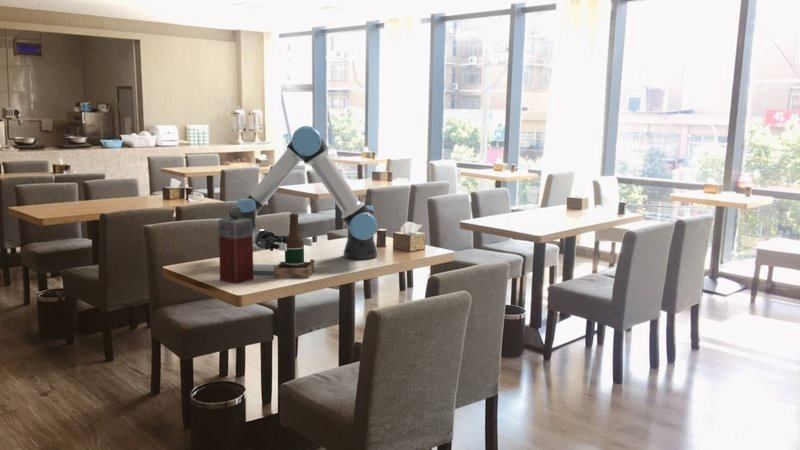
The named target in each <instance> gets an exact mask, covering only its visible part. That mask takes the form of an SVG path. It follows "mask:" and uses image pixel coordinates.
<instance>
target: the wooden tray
mask: <svg viewBox="0 0 800 450" xmlns="http://www.w3.org/2000/svg"><path fill="white" fill-rule="evenodd" d="M273 265H274V278H282V279H283V278H288V279H289V278H290V279H291V278H293V279H296V278H297V279H304V278H305V279H309V278H311V276H312V275H313V273H314V272H315V259H310V260H309V261H304V268H285V261H280V262H279V263H278V264H273Z"/></svg>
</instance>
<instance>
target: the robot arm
mask: <svg viewBox="0 0 800 450" xmlns="http://www.w3.org/2000/svg"><path fill="white" fill-rule="evenodd" d="M301 162H303V163H304V164H306V165H309V166H311V168H312V169H313V171H314V173H315V174H316V175H317V177H318V178H319V179H320V181H321V182H322V185H324V186H323V187H325V189H326V190H327V192H328V193H329V195H330V196H331V197H332V199H333V200H334V203H335V204H336V206H337V207H338V208H339V210H340V211H341V219H342V221H343V223H344V224H345V225H346V227H347V240H346V244H345V246H344V249H343V258H346V259H350V260H371V259H375V258H377V257H378V250H377V246H376V243H375V241H374V240H375V239H374V236H375V234H376V232H377V230H378V221H377V219H376V217H375V215H374V213H375V210H374V207H373V205H367V204H366V203H365V202H363V201H360V200H359V199H358V197H357V195H355V193H354V192H353V190H352V188H351V187H350V185H349V184H348V182H347V181H346V179H345V177H344V176H343V175H342V173H341V171H340V170H339V168H338V167H337V166H336V163H334V160H333V159H332V158H331V156H330V155H329V147H328V145H327V144H326V142H325V141H324V139H323V137H322V136H321V133H320V132H319V131H318V130H317V129H316V128H315V127H313V126H310V125H304V126H300V127H299V128H297V129H296V130H295V131H294V132H293V134H292V137H291V140H290V142H289V143H288V144H287V145H286V150H285V151H284V153H283V154H282V155H281V157H280V158H279V159H278V160H277V161H276V163H274V165H273V166H272V167H271V168H270V170H269V171H268V173H266V174H265V175H264V177H263V178H262V179H261V181H260V182H259V183H258V184H257V185H256V187H255V188H254V189H253V190H252V191H251V193H250V195H249V196H247V198H238V200H237V202H236V207H239V208H240V209H241V216H240V217H239V218H247V219H251V220H252V235H253V248H256V249H257V250H259V249H264V250H269V251H270V252H273V251H274V250H277V251H283V252H285V251H287V244H285V242H286V239H287V237H288V235H285V234H284V235H283V234H282V235H278V234H277V235H275V234H274V232H273V231H271V230H266V229H259V228H257V214H258V213H259V212H260V211H261V210H262V209H263V208H264V207H263V206H264V205H265V204H266V203H267V202H268V201H269V200H270V198H271V197H273V195H274V194H275V193H276V191H277V190H278V189H279V188H280V187H281V185H282V184H283V183H284V182H285V181H286V179H287V178H288V177H289V176H290V174H291V173H292V172H293V171H294V170H295V168H296V167H297V166H298V165H299V164H300V163H301ZM301 237H302V239H303V241H304V246H308V247H312V246H313V239H311V238H305V236H303V235H301Z"/></svg>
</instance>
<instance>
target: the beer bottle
mask: <svg viewBox="0 0 800 450" xmlns="http://www.w3.org/2000/svg"><path fill="white" fill-rule="evenodd" d="M299 217H300V216H299V214H298V213H289V231H288V235H287V236H288V237H287V239H286V242H285V244H287V251H284V262H285V268H304V262H305V245H304V241H303V239H302V237H301V236H302V235H301V233H300V227H299V226H300V225H299Z"/></svg>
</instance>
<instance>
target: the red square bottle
mask: <svg viewBox="0 0 800 450" xmlns="http://www.w3.org/2000/svg"><path fill="white" fill-rule="evenodd" d="M228 215H229V217H228V218H226V217H225V218H221V219H219V220H218V249H219V250H218V253H219V281H221V282H226V283H231V284H235V285H236V284H241V283H245V282H248V281H252V280H254V274H253V264H254V247H253V235H252V220H251V219H247V218H239V217H240V216H241V209H240V208H239V207H237V206H232V207H230V208H229V210H228Z"/></svg>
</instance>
